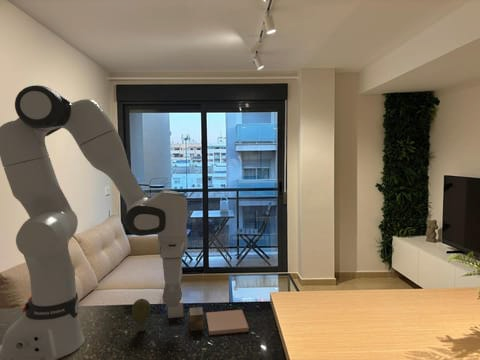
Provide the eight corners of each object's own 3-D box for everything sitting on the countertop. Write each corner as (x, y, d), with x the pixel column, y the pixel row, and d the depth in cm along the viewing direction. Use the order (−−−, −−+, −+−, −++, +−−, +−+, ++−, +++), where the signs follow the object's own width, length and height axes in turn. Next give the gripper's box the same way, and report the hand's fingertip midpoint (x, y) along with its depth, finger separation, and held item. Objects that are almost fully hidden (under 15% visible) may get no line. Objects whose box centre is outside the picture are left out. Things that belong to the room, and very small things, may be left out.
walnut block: (190, 331, 110) (189, 315, 109) (189, 323, 115) (189, 308, 114) (203, 329, 111) (203, 314, 110) (202, 322, 116) (202, 307, 115)
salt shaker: (177, 309, 107) (177, 267, 106) (159, 307, 108) (159, 265, 107) (184, 301, 113) (184, 261, 112) (167, 299, 114) (167, 259, 113)
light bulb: (155, 330, 110) (154, 299, 109) (139, 337, 106) (137, 305, 105) (145, 324, 114) (144, 294, 113) (129, 331, 110) (127, 299, 109)
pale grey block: (167, 318, 118) (167, 303, 118) (168, 311, 123) (167, 297, 123) (183, 317, 119) (182, 302, 118) (183, 310, 124) (182, 296, 123)
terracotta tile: (209, 335, 107) (209, 331, 107) (206, 316, 119) (206, 312, 119) (248, 331, 109) (248, 327, 109) (241, 313, 121) (241, 309, 121)
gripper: (163, 235, 118) (163, 276, 120) (160, 254, 98) (159, 302, 100) (182, 235, 120) (182, 275, 121) (183, 253, 99) (182, 301, 101)
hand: (172, 288), depth 110 cm, fingers closed on salt shaker, 3 cm apart
